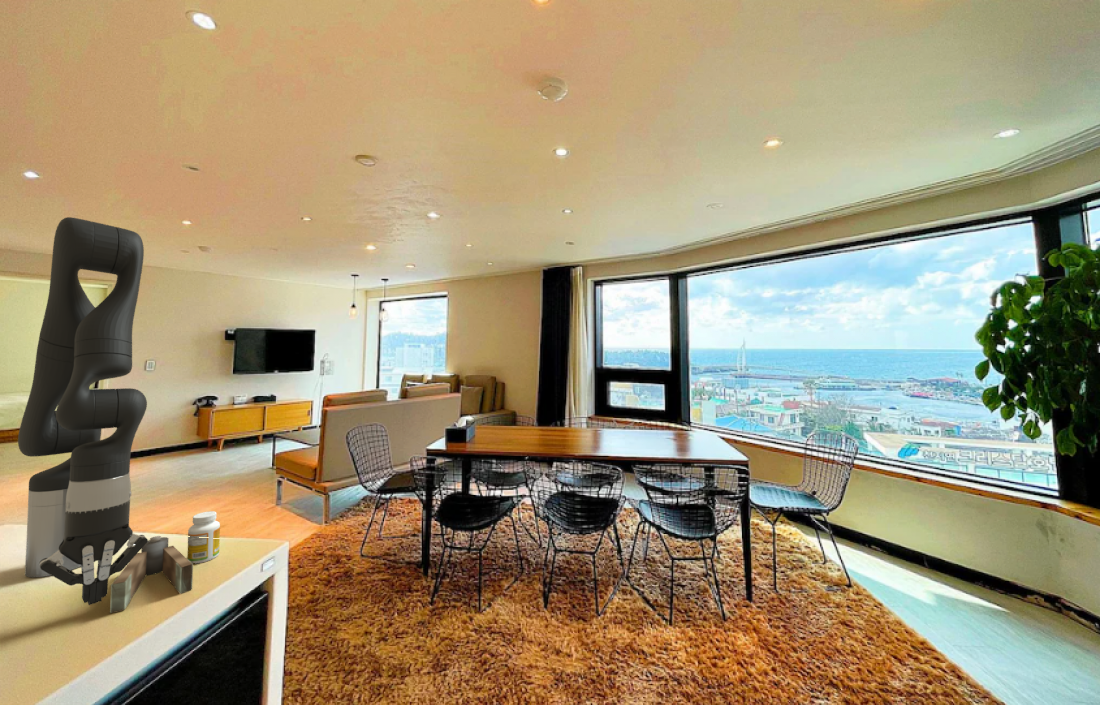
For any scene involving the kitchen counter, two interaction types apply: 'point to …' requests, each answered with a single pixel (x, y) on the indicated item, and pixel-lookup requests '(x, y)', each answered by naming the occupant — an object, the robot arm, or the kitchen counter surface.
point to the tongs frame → (168, 563)
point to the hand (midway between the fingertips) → (94, 601)
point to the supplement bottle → (203, 547)
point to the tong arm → (128, 582)
